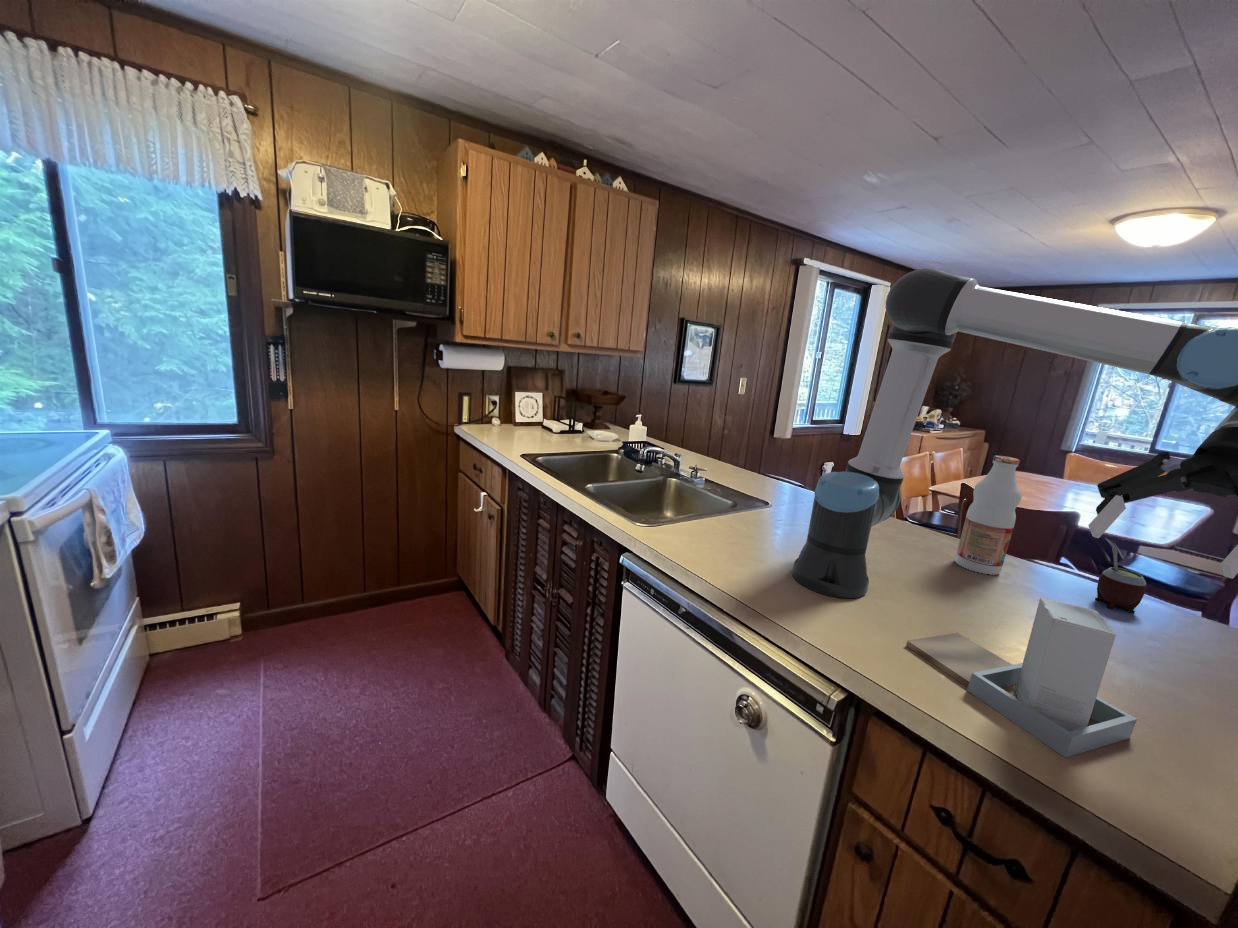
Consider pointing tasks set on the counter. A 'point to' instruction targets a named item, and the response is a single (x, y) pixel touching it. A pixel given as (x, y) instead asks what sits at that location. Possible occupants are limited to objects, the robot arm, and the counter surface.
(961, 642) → the coaster
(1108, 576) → the mate gourd
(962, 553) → the fruit juice
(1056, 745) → the bin
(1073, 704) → the skincare box
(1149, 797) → the counter surface
